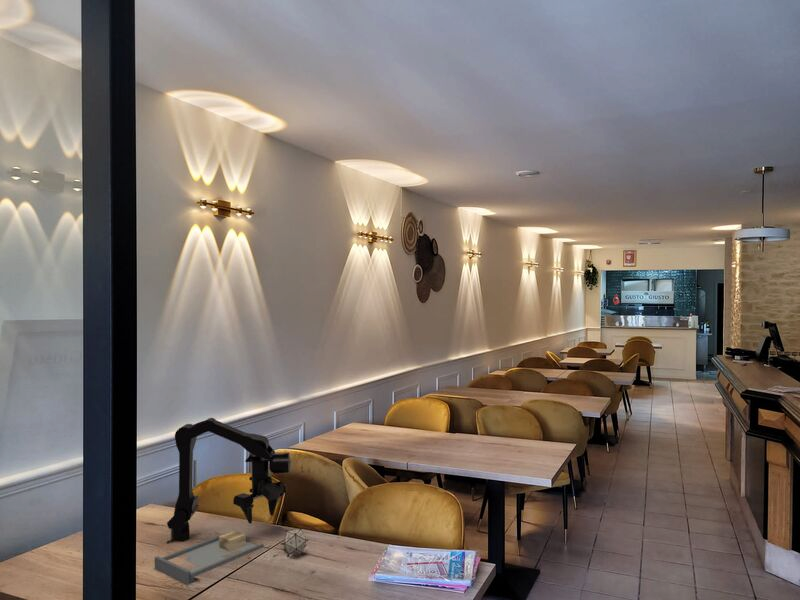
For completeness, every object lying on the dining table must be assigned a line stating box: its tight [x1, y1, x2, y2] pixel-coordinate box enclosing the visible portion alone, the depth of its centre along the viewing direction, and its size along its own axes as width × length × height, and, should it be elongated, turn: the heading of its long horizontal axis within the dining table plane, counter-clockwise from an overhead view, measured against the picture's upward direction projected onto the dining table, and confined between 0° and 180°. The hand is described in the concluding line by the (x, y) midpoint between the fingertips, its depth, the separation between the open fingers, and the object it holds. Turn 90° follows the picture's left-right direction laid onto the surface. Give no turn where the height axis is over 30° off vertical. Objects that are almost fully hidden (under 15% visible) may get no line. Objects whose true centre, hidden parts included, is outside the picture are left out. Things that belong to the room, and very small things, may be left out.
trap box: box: [154, 531, 264, 585], centre depth 187 cm, size 18×28×4 cm, turn 142°
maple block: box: [218, 530, 247, 552], centre depth 194 cm, size 6×6×4 cm
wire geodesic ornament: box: [280, 526, 309, 558], centre depth 190 cm, size 9×8×10 cm
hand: (261, 519), depth 203 cm, fingers open, 9 cm apart
